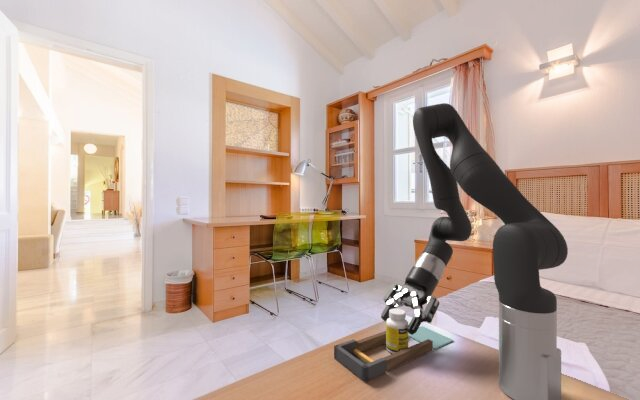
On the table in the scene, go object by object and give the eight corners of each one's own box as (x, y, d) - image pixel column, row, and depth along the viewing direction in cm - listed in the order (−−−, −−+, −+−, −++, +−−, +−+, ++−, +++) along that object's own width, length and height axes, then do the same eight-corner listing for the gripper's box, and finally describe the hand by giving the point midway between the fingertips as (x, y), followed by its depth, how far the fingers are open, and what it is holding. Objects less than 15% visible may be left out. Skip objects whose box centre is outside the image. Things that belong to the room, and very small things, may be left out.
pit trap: (385, 373, 64) (385, 359, 64) (364, 382, 60) (364, 368, 60) (353, 351, 73) (353, 339, 73) (334, 358, 70) (334, 345, 70)
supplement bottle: (400, 358, 70) (399, 317, 70) (381, 349, 74) (381, 310, 74) (412, 350, 73) (412, 311, 73) (394, 342, 77) (394, 305, 77)
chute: (432, 351, 73) (432, 341, 73) (386, 371, 64) (386, 360, 64) (400, 334, 82) (400, 325, 82) (356, 351, 73) (356, 341, 73)
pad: (453, 341, 78) (453, 339, 78) (434, 349, 74) (434, 348, 74) (422, 327, 86) (422, 326, 86) (403, 334, 82) (403, 333, 82)
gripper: (398, 260, 84) (368, 308, 78) (443, 271, 72) (411, 328, 66) (411, 276, 87) (383, 323, 81) (455, 288, 75) (426, 345, 69)
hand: (395, 326), depth 73 cm, fingers open, 8 cm apart
